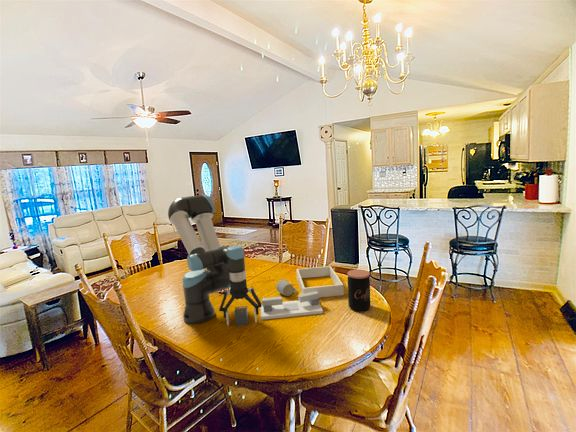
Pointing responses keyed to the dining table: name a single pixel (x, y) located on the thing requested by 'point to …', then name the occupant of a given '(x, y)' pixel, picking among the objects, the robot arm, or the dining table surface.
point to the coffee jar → (359, 290)
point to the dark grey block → (241, 316)
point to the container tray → (322, 290)
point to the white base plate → (291, 306)
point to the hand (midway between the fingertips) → (242, 322)
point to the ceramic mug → (285, 288)
